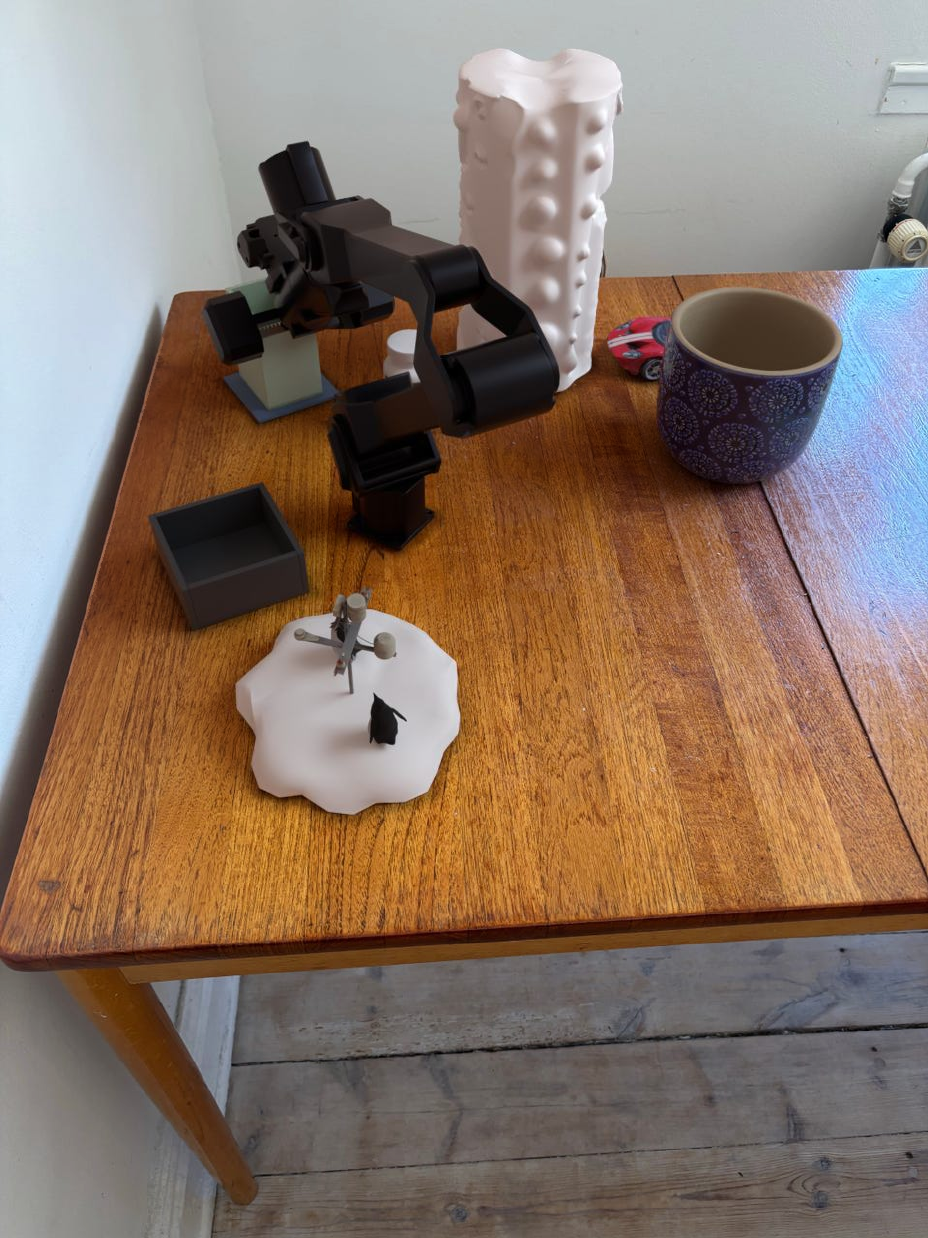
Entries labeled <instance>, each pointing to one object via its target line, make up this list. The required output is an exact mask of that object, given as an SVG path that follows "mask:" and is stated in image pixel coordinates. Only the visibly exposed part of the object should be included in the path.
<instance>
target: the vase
mask: <svg viewBox="0 0 928 1238" xmlns="http://www.w3.org/2000/svg"><path fill="white" fill-rule="evenodd" d="M458 68H459V69H458V89H457V91H456V93H455V102H456V104H457V105H458V108H456V110H455V111H454V112H453V115H452V119H453V124H454V126H455V128H456V129H457V131H458V135H457V136H458V137H457V139H458V140H457V142H458V143H457V144H458V155H459V162H460V163H461V166H460V172H461V174H460V180H459V183H458V184H459V186H458V187H459V191H460V192H459V194H460V201H459V211H458V215H459V219H460V221H459V222H460V223H459V225H460V228H461V229H460V234H459V235H458V245H459V244H463V245H464V246H466V247H468V246H473V247H474V248H476V249H477V250H478V252H479V253H480V255H481V256H482V259H483V261H484V263H485V265H486V267H487V269H488V271H489V273H490V275H491V277H492V278H493V279H494V280H495V281H497V282H498V283H499V284H501V285H502V286H503V287H504V288H506V289H507V290H508V291H510V292H511V293H512V294H513V295H515V296H516V297H517V298H519V299H520V300H521V301H522V302H524V303H525V304H526V305H528V306H529V307H530V308H531V310H532V311H533V313H534V315H535V317H536V319H537V321H538V323H539V325H540V327H541V329H542V331H543V333H544V335H545V337H546V339H547V341H548V343H549V345H550V347H551V349H552V351H553V353H554V355H555V358H556V360H557V363H558V366H559V372H560V385H559V388H558V390H557V392H556V393H560V392H564V391H565V390H567V389H569V387H570V386H572V384H573V383H574V382H575V381H576V380H578V379H579V378H581V377H582V376H584V375H586V374H587V373H588V372H589V371H591V368H592V362H593V361H592V350H593V347H594V338H595V336H594V335H595V334H594V332H595V324H596V316H597V308H598V303H599V299H598V298H599V297H598V295H599V294H598V293H599V287H600V277H601V273H602V265H603V256H604V253H603V252H604V238H605V228H606V224H607V222H608V218H607V215H606V213H607V212H606V208H605V203H604V201H603V200H602V199H601V197H602V196H603V195H604V194H605V193H606V191H607V190H608V189H609V188H610V186H611V185H612V182H613V173H614V161H615V160H614V157H615V142H614V141H615V139H614V130H613V125H614V121H615V118H616V117H617V116H619V115H621V114H622V113H623V112H624V111H625V106H624V100H623V88H624V84H623V82H622V74H621V73H622V72H621V71H620V70H619V68H618V66H617V64H616V63H615V62H614V60H611V59H610V58H608V57H606V56H603V55H601V54H598V53H596V52H593V51H589V50H584V49H579V48H565V49H563V50H561V51H560V52H558V53H557V54H556V55H555V56H554V57H552V58H550V59H548V60H542V61H541V60H532V59H529V58H526V57H525V56H522V55H521V54H519V53H516V52H514V51H512V50H510V49H507V48H502V47H501V48H500V47H499V48H498V47H497V48H493V49H488V50H485V51H482V52H480V53H477V54H474V55H473V56H471V57H470V60H468V61H466V62H463V63H462V64H461V65H460V66H459V67H458ZM503 337H506V335H505V334H503V333H502V332H501V331H499V330H498V329H497V328H496V327H494V326H493V325H492V324H490V323H489V322H488V321H487V320H485V319H484V318H483V317H481V316H480V315H479V314H478V313H476V312H475V311H474V309H473V308H472V307H471V304H468V305H464V306H462V307H461V310H459V313H458V324H457V329H456V350H460V349H463V348H467V347H471V346H474V345H478V344H481V343H485V342H489V341H492V340H496V339H499V338H503Z"/></svg>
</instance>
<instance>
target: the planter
mask: <svg viewBox="0 0 928 1238" xmlns="http://www.w3.org/2000/svg"><path fill="white" fill-rule="evenodd" d="M670 318H671V319H670V323H669V327H668V331H667V336H666V342H665V347H664V352H663V357H662V364H661V371H660V377H659V379H658V384H657V395H656V407H655V408H656V410H655V411H656V412H655V420H656V429H657V433H658V435H659V437H660V439H661V442H662V444H663V446H664V447H665V449H666V451H667V452H668V454H669V455H670V456H671V457H672V458H673V459H674V460H675V461H676V462H677V463H678V464H679V465H680V466H682V467H683V468H684V469H686V470H687V471H689V472H690V473H692V474H694V475H696V476H698V477H701V478H704V479H706V480H710V481H711V482H712V481H713V482H717V483H722V484H729V485H733V484H734V485H744V484H754V483H758V482H762V481H765V480H768V479H770V478H773V477H775V476H777V475H779V474H781V473H782V472H784V471H785V470H787V469H788V468H790V467H791V466H792V465H793V464H794V463H796V462H797V461H798V460H799V458H800V457H801V456H802V455H803V453H804V452H805V450H806V449H807V447H808V446H809V444H810V441H811V439H812V438H813V435H814V433H815V431H816V428H817V427H818V424H819V421H820V420H821V417H822V413H823V411H824V408H825V405H826V403H827V399H828V397H829V393H830V391H831V388H832V385H833V382H834V378H835V376H836V372H837V368H838V365H839V362H840V359H841V354H842V350H843V346H844V345H843V344H844V340H843V335H842V332H841V330H840V328H839V326H838V325H837V323H836V322H835V321H834V320H833V319H832V318H831V316H829V315H828V314H827V313H826V312H825V311H823V310H822V309H821V308H819V307H817V306H815V305H814V304H812V303H811V302H808V301H807V300H804V299H802V298H799V297H797V296H794V295H792V294H788V293H785V292H780V291H777V290H773V289H767V288H760V287H754V286H753V287H752V286H727V287H726V286H725V287H716V288H712V289H707V290H704V291H701V292H697V293H695V294H693V295H690V296H689V297H687V298H685V299H684V300H683V301H681V302H679V304H678V305H677V306H676V307H675V309H674V310H673V311H672V313H671V315H670Z"/></svg>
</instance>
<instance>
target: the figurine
mask: <svg viewBox="0 0 928 1238" xmlns="http://www.w3.org/2000/svg"><path fill="white" fill-rule="evenodd" d="M372 593H373V590H372V589H370V587H369V586H367V587H366V588H364V587H363V588H362V590H361V592H359V591H356V592H354V593H351V594H350V595H348V597H346V594H341V593H338V594H337V597H336V600H335V602H334V605H333V608H332V612H330V613H325V614H319V615H309V616H303V617H301V618H297V619H294V620H292V621H289V622H288V623H286V624H285V625H284V626H283V627H282V629H281V631H280V632H279V634H278V635H277V636H276V638H275V642H274V645H273V647H272V649H271V652H269V653H268V654H267V655H266V656H264V658H262V659H261V660H260V661H259V662H258V663H257V664H255V665H254V666H253V667H252V668H251V669H249V671H247V672H246V673H245V674H244V675H243V676H242V677H241V678H240V679H239V680H238V681H237V682H235V703H236V706H235V707H236V710H237V711H238V712H239V714H240V715H241V716H242V718H243V719H244V720H245V721H246V722H247V724H248V725H249V727H250V728H251V729H252V731H253V734H254V736H255V742H254V747H253V753H252V758H251V763H250V766H251V769H252V772H253V774H254V777H255V780H256V783H257V786H258V788H259V789H260V790H263V791H265V792H266V793H269V794H271V795H273V796H275V797H277V798H285V797H293V796H303V797H305V798H306V799H307V800H309V801H311V802H312V803H314V804H315V805H316V806H318V807H320V808H322V810H325V812H328V813H334V814H344V815H352V816H353V815H356V814H358V813H360V812H362V811H363V810H366V809H367V808H369V807H371V806H373V805H375V804H383V803H385V804H386V803H389V804H390V803H407V802H408V801H411V800H413V799H415V798H418V797H420V796H421V795H424V794H426V793H428V792H429V790H430V788H431V786H432V784H433V782H434V779H435V777H436V776H437V774H438V771H439V768H440V764H441V763H442V762H441V761H442V759H443V756H444V753H445V751H446V750H447V748H448V747H449V746H450V745H451V743H452V742H453V741H454V740H455V739H456V737H457V736H458V734H459V731H460V723H461V713H460V708H459V703H458V685H459V684H458V680H459V678H458V666H457V661H455V660H454V659H453V658H452V657H451V656H450V655H449V654H448V653H446V651H444V650H443V649H442V648H441V647H440V646H439V645H438V643H436V642H435V641H434V640H433V638H431V637H430V635H428V632H426V631H424V630H423V629H421V628H419V627H418V626H416V625H414V624H412V623H410V622H408V621H406V620H403V619H401V618H399V617H397V616H394V615H392V614H388V613H385V612H382V611H379V610H376V609H372V608H371V609H370V608H368V605H369V602H370V599H371V596H372Z"/></svg>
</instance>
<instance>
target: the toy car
mask: <svg viewBox="0 0 928 1238" xmlns="http://www.w3.org/2000/svg"><path fill="white" fill-rule="evenodd" d="M670 319H671V317H663V316H638V317H635V318H633V319H630V320H628V321H625V322H624V323H622V324H619V325H617V326H616V327H615V328H613V329H612V330H611V331H610V332H609V333H608V335H607V338H606V344H607V347H608V351H609V352H610V354H611V355H612V356H613V357H614V358H615V360H616V362H617V364H618V366H619V368H621V369H622V370H626V371H629V372H630V374H631V375H635V376H638V375H641V376H642V377H643V378H644V379H645V380H646V381H653V380H654V381H657V380H659V377H660V371H661V364H662V357H663V352H664V347H665V342H666V336H667V331H668V327H669V323H670Z"/></svg>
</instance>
